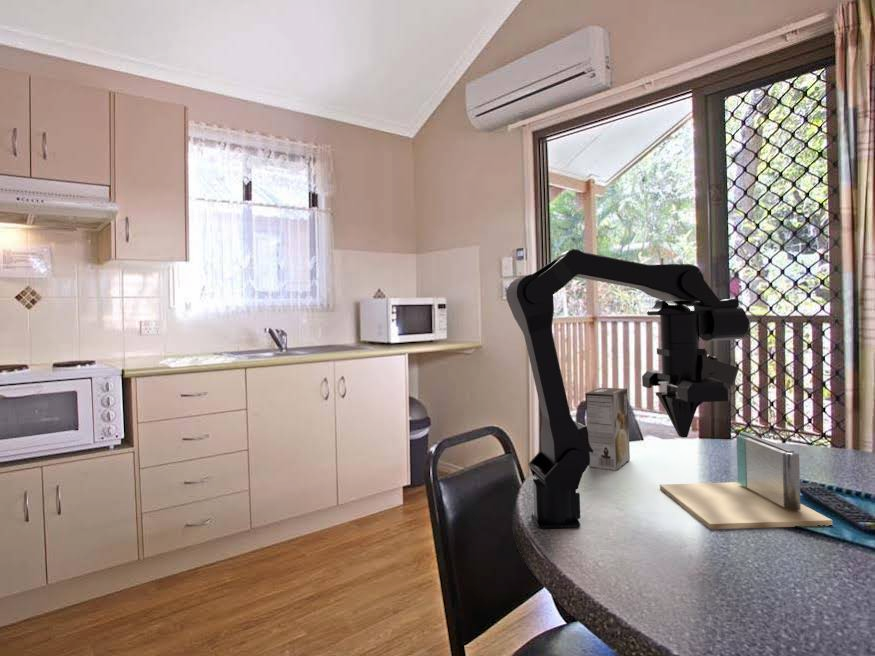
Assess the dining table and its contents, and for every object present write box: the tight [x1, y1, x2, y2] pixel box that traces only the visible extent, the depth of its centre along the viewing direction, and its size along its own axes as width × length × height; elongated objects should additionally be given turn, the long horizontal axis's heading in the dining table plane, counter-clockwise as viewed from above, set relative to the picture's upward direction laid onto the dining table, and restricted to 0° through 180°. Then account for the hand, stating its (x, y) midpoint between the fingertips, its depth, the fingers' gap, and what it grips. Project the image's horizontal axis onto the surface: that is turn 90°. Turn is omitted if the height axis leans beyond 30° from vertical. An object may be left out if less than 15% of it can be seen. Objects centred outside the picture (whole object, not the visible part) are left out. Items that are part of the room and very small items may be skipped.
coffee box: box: [585, 387, 631, 471], centre depth 111 cm, size 9×6×16 cm
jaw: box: [736, 434, 802, 510], centre depth 85 cm, size 2×13×9 cm, turn 0°
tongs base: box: [659, 431, 834, 530], centre depth 85 cm, size 18×19×10 cm
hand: (683, 436), depth 84 cm, fingers closed
